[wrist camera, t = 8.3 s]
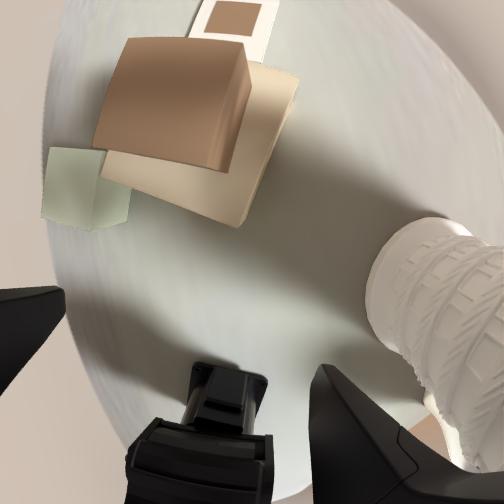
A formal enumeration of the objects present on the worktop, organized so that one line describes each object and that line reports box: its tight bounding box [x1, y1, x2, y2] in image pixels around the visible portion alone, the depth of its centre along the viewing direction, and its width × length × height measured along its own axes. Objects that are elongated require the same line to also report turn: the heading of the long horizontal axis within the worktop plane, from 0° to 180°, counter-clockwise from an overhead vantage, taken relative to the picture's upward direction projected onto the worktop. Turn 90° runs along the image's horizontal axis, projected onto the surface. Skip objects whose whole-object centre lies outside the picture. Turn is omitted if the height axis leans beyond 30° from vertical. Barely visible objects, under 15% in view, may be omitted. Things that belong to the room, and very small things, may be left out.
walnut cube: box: [92, 37, 252, 174], centre depth 11 cm, size 5×5×5 cm
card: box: [188, 0, 280, 64], centre depth 15 cm, size 8×6×1 cm
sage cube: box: [41, 147, 132, 232], centre depth 17 cm, size 5×5×5 cm
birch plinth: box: [100, 60, 299, 229], centre depth 16 cm, size 9×9×5 cm
